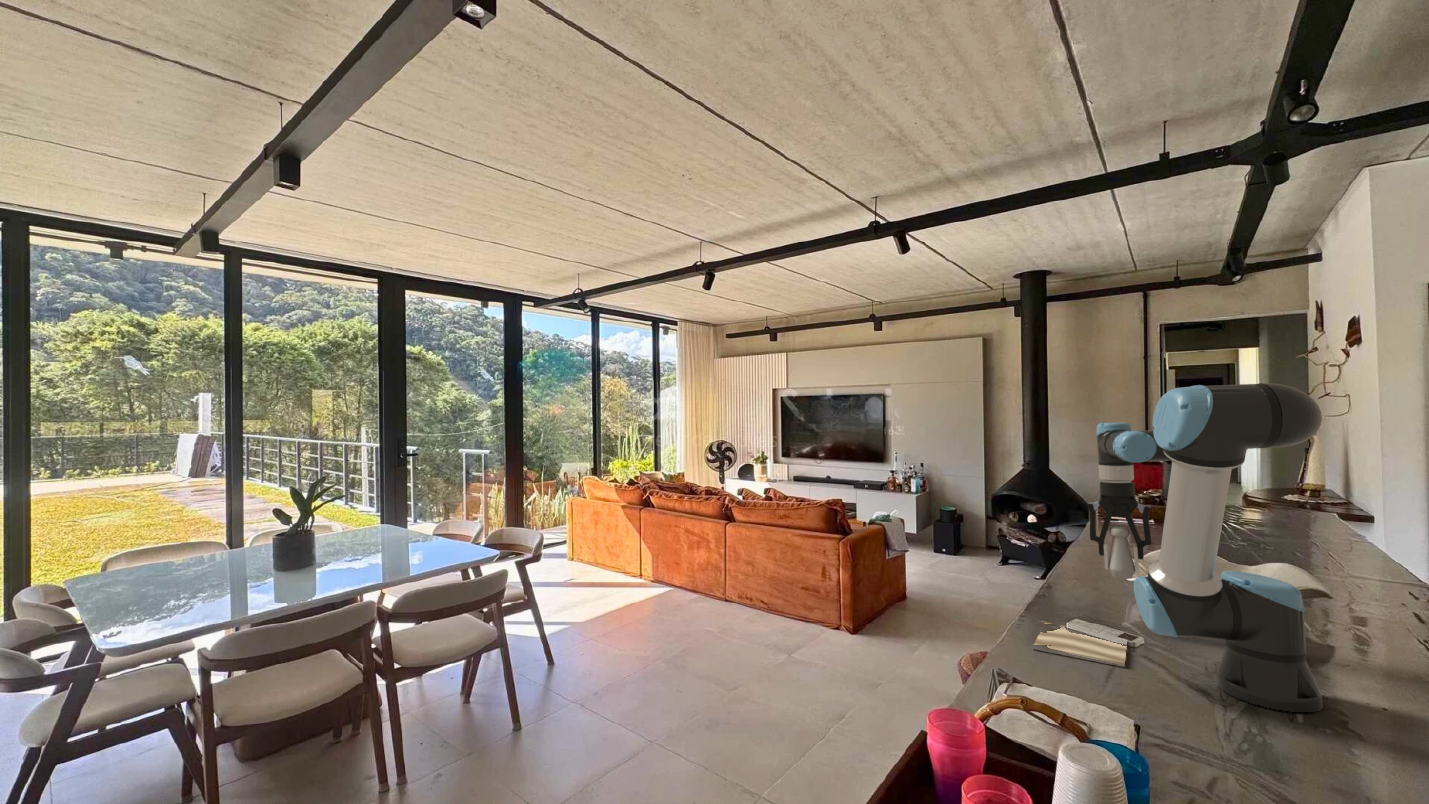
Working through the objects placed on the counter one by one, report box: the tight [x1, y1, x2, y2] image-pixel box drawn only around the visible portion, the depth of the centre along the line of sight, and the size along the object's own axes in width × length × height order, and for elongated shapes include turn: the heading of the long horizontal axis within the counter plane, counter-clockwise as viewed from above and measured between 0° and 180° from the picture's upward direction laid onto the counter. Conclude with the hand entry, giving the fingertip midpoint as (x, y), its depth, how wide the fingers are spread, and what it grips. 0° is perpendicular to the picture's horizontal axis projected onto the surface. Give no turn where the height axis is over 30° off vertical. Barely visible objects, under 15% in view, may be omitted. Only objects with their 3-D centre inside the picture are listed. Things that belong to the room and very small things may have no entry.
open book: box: [1033, 622, 1128, 666], centre depth 139 cm, size 18×18×1 cm
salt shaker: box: [1108, 525, 1136, 580], centre depth 149 cm, size 6×6×13 cm
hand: (1121, 569), depth 149 cm, fingers closed on salt shaker, 6 cm apart
